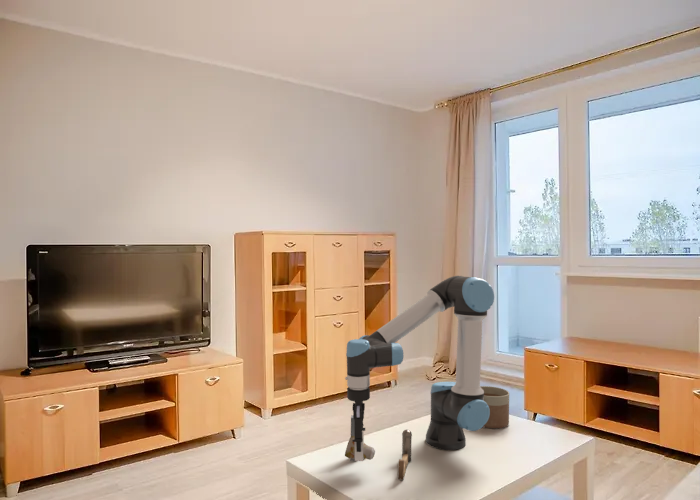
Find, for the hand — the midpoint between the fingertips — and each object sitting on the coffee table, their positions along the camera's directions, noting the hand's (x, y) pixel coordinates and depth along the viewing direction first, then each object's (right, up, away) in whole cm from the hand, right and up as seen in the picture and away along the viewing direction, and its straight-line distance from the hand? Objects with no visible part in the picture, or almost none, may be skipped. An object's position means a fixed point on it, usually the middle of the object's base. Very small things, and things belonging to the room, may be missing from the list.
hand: (359, 455), depth 172 cm
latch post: (0, -6, +12) cm, 13 cm away
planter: (+57, -6, +50) cm, 76 cm away
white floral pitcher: (0, -1, 0) cm, 1 cm away
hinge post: (+17, -6, +10) cm, 21 cm away
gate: (+15, -6, +1) cm, 16 cm away
